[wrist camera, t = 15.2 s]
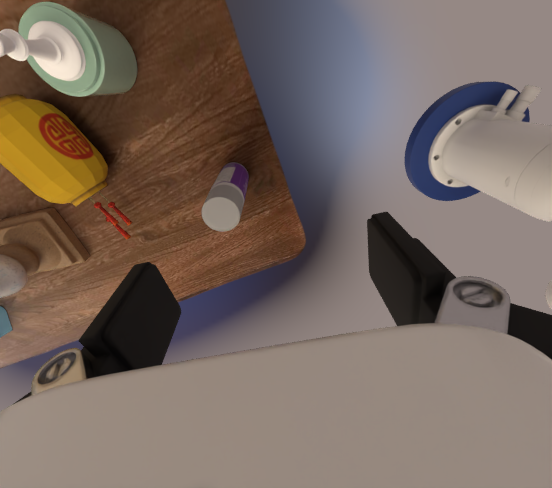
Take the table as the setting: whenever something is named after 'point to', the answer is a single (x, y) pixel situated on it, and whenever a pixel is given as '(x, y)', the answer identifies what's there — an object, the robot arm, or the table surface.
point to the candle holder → (35, 247)
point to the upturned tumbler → (87, 52)
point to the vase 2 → (4, 322)
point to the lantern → (51, 154)
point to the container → (226, 198)
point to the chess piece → (47, 49)
